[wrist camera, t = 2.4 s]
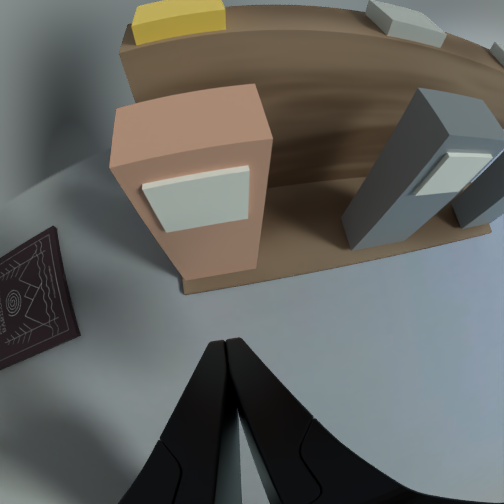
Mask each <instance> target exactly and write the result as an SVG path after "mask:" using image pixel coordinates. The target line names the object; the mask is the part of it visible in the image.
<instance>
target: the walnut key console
mask: <svg viewBox="0 0 504 504" xmlns="http://www.w3.org/2000/svg"><path fill="white" fill-rule="evenodd" d="M119 55H120V58H121V61H122V64H123V67H124V70H125V73H126V76H127V79H128V82H129V85H130V88H131V90H132V94H133V97H134V99H135V102H136V103H140V102H144V101H148V100H152V99H157V98H162V97H166V96H171V95H176V94H182V93H187V92H193V91H199V90H206V89H212V88H220V87H228V86H236V85H246V84H255V85H256V88H257V91H258V94H259V97H260V100H261V103H262V106H263V109H264V112H265V115H266V118H267V121H268V125H269V128H270V131H271V134H272V137H273V143H272V150H271V158H270V166H269V174H268V182H267V189H266V197H265V205H264V213H263V220H262V228H261V235H260V243H259V251H258V258H257V266H256V269H251V270H245V271H239V272H233V273H228V274H222V275H216V276H210V277H204V278H198V279H192V280H186V281H185V279H184V278H183V277H182V281H183V288H184V294H185V295H189V294H195V293H201V292H207V291H213V290H219V289H225V288H231V287H236V286H242V285H248V284H253V283H259V282H264V281H270V280H275V279H281V278H286V277H291V276H297V275H302V274H307V273H312V272H317V271H323V270H328V269H333V268H338V267H343V266H347V265H352V264H357V263H362V262H367V261H371V260H376V259H381V258H386V257H390V256H395V255H399V254H404V253H408V252H413V251H417V250H422V249H426V248H430V247H435V246H439V245H443V244H448V243H452V242H456V241H460V240H464V239H468V238H473V237H477V236H481V235H485V234H489V233H491V232H492V231H491V228H490V226H489V223H488V224H484V225H479V226H474V227H470V228H465V229H461V227H460V224H459V222H458V219H457V217H456V214H455V212H454V209H453V207H452V205H451V202H452V201H453V200H454V199H455V198H456V197H457V196H459V195H460V194H461V193H462V192H463V191H464V190H465V189H466V188H467V187H468V186H469V185H470V184H471V182H470V183H469V184H468V185H467V186H466V187H465V188H463V189H462V190H461V191H460V192H459V193H458V194H457V195H456V196H455V197H454V198H453V199H452V200H451V201H449V202H448V203H447V204H446V205H445V206H444V207H443V208H442V209H441V210H440V211H438V212H437V213H436V214H435V215H434V216H433V217H432V218H430V219H429V220H428V221H427V222H426V223H425V224H424V225H422V226H421V227H420V228H419V229H418V230H417V231H415V232H414V233H413V234H412V235H411V236H409V237H408V238H407V239H406V240H405V241H401V242H396V243H391V244H386V245H381V246H376V247H370V248H365V249H360V250H355V251H351V249H350V246H349V242H348V239H347V236H346V233H345V230H344V226H343V223H342V220H341V217H342V215H343V214H344V212H345V211H346V209H347V207H348V206H349V204H350V203H351V201H352V199H353V198H354V196H355V195H356V193H357V191H358V190H359V188H360V187H361V185H362V183H363V182H364V180H365V179H366V177H367V175H368V174H369V172H370V170H371V169H372V167H373V165H374V164H375V162H376V160H377V159H378V157H379V155H380V154H381V152H382V150H383V149H384V147H385V145H386V143H387V142H388V140H389V138H390V137H391V135H392V133H393V131H394V130H395V128H396V126H397V124H398V123H399V121H400V119H401V117H402V115H403V114H404V112H405V110H406V108H407V106H408V105H409V103H410V101H411V99H412V97H413V95H414V94H415V92H416V90H417V88H425V89H432V90H438V91H443V92H449V93H454V94H459V95H463V96H468V97H472V98H477V99H481V100H483V101H484V102H485V104H486V105H487V107H488V108H489V109H490V111H491V112H492V114H493V115H494V117H495V118H496V120H497V121H498V123H499V124H500V126H501V127H502V129H504V47H503V46H502V45H500V44H498V43H496V42H494V44H493V46H492V47H491V49H490V50H489V49H487V48H484V47H482V46H480V45H478V44H475V43H473V42H470V41H468V40H465V39H463V38H460V37H457V36H454V35H451V34H449V33H446V32H443V31H442V30H441V29H440V28H439V27H438V26H437V25H435V23H433V22H432V21H431V20H430V19H429V18H427V17H426V16H425V15H424V14H423V13H421V12H417V11H414V10H411V9H407V8H403V7H400V6H396V5H392V4H387V3H383V2H378V1H374V0H369V2H368V5H367V9H366V12H360V11H353V10H346V9H338V8H329V7H317V6H301V5H248V6H231V7H224V5H223V2H222V0H163V1H158V2H154V3H150V4H145V5H141V6H138V7H137V10H136V13H135V16H134V19H133V22H132V24H128V25H127V28H126V31H125V35H124V38H123V41H122V44H121V48H120V51H119Z"/></svg>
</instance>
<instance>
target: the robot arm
mask: <svg viewBox="0 0 504 504" xmlns="http://www.w3.org/2000/svg"><path fill="white" fill-rule="evenodd" d="M237 409H238V410H237ZM238 413H239V417H240V421H241V424H242V427H243V430H244V433H245V436H246V439H247V442H248V445H249V448H250V451H251V454H252V456H253V459H254V462H255V465H256V468H257V470H258V473H259V476H260V479H261V481H262V484H263V487H264V489H265V492H266V495H267V497H268V500H269V502H270V504H504V503H488V502H476V501H466V500H458V499H451V498H444V497H438V496H433V495H428V494H423V493H420V492H417V491H414V490H412V489H409V488H407V487H405V486H403V485H402V484H400V483H398V482H397V481H395V480H393V479H392V478H390V477H389V476H387V475H386V474H384V473H383V472H381V471H380V470H378V469H377V468H375V467H374V466H372V465H371V464H369V463H368V462H366V461H365V460H364V459H362V458H361V457H359V456H358V455H357V454H355V453H354V452H353V451H351V450H350V449H349V448H347V447H346V446H345V445H344V444H342V443H341V442H340V441H339V440H338V439H336V438H335V437H334V436H333V435H332V434H331V433H330V432H329V431H328V430H327V429H326V428H325V427H324V426H323V425H322V424H321V423H320V422H319V421H318V420H317V419H315V418H314V419H313V415H312V414H311V413H310V412H309V411H308V410H307V409H306V408H305V407H304V406H303V405H302V404H301V403H300V402H299V401H298V400H297V399H296V398H295V397H294V396H293V395H292V393H291V392H290V391H289V390H288V389H287V388H286V387H285V386H284V385H283V384H282V383H281V382H280V381H279V380H278V378H277V377H276V376H275V375H274V374H273V373H272V372H271V371H270V370H269V369H268V367H267V366H266V365H265V364H264V363H263V362H262V361H261V360H260V359H259V357H258V356H257V355H256V354H255V353H254V352H253V351H252V349H251V348H250V347H249V346H248V345H247V344H246V343H245V341H244V340H243V339H242V338H240V337H238V338H232V339H227V340H226V343H225V341H224V340H218V341H211V342H210V343H209V344H208V346H207V348H206V349H205V351H204V353H203V355H202V357H201V359H200V361H199V363H198V365H197V367H196V369H195V371H194V373H193V375H192V377H191V378H190V380H189V382H188V384H187V386H186V388H185V390H184V392H183V394H182V396H181V398H180V400H179V402H178V404H177V405H176V407H175V409H174V411H173V413H172V415H171V417H170V419H169V421H168V423H167V425H166V427H165V429H164V430H163V432H162V434H161V436H160V440H158V442H157V444H156V445H155V447H154V449H153V451H152V453H151V455H150V457H149V458H148V460H147V462H146V464H145V465H144V467H143V469H142V470H141V472H140V473H139V475H138V476H137V478H136V479H135V481H134V482H133V484H132V485H131V487H130V488H129V489H128V491H127V492H126V494H125V495H124V496H123V498H122V499H121V500H120V502H119V503H118V504H242V493H241V470H240V444H239V419H238Z"/></svg>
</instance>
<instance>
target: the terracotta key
mask: <svg viewBox="0 0 504 504" xmlns="http://www.w3.org/2000/svg"><path fill="white" fill-rule="evenodd" d="M272 143H273V137H272V134H271V131H270V128H269V125H268V121H267V118H266V115H265V112H264V109H263V106H262V103H261V100H260V97H259V94H258V91H257V88H256V85H255V84H246V85H236V86H228V87H220V88H212V89H206V90H199V91H193V92H187V93H182V94H176V95H171V96H166V97H162V98H157V99H152V100H148V101H144V102H140V103H136V104H132V105H128V106H124V107H121V108H117V109H116V116H115V123H114V130H113V138H112V146H111V156H110V167H109V168H110V170H111V172H112V173H113V175H114V176H115V178H116V180H117V181H118V183H119V184H120V186H121V187H122V189H123V191H124V192H125V194H126V195H127V197H128V198H129V200H130V201H131V203H132V204H133V206H134V208H135V209H136V211H137V212H138V214H139V215H140V217H141V218H142V220H143V221H144V223H145V224H146V226H147V227H148V228H149V230H150V231H151V233H152V234H153V236H154V237H155V239H156V240H157V242H158V243H159V244H160V246H161V247H162V249H163V250H164V252H165V253H166V254H167V256H168V257H169V259H170V260H171V261H172V263H173V264H174V266H175V267H176V268H177V270H178V271H179V273H180V274H181V275H182V277H183V278H184V279H185V281H186V280H192V279H198V278H204V277H210V276H216V275H222V274H228V273H233V272H239V271H245V270H251V269H256V266H257V258H258V251H259V243H260V235H261V228H262V220H263V213H264V205H265V197H266V189H267V182H268V174H269V166H270V158H271V150H272Z"/></svg>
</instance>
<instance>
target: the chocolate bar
mask: <svg viewBox="0 0 504 504" xmlns="http://www.w3.org/2000/svg"><path fill="white" fill-rule="evenodd" d="M79 336H81V334H80V331H79V328H78V324H77V321H76V317H75V314H74V310H73V306H72V303H71V299H70V295H69V291H68V286H67V282H66V277H65V273H64V268H63V263H62V258H61V252H60V247H59V241H58V234H57V228H56V227H54V226H52V227H50V228H48V229H47V230H45V231H43V232H42V233H40V234H38V235H37V236H35V237H33V238H32V239H30V240H28V241H27V242H25V243H23V244H22V245H20V246H19V247H17V248H15V249H14V250H12V251H11V252H9V253H8V254H6V255H5V256H3V257H2V258H0V370H2V369H4V368H6V367H9V366H11V365H13V364H16V363H18V362H20V361H23V360H25V359H27V358H30V357H32V356H34V355H37V354H39V353H41V352H44V351H46V350H48V349H51V348H53V347H55V346H58V345H60V344H62V343H65V342H67V341H69V340H72V339H74V338H76V337H79Z"/></svg>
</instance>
